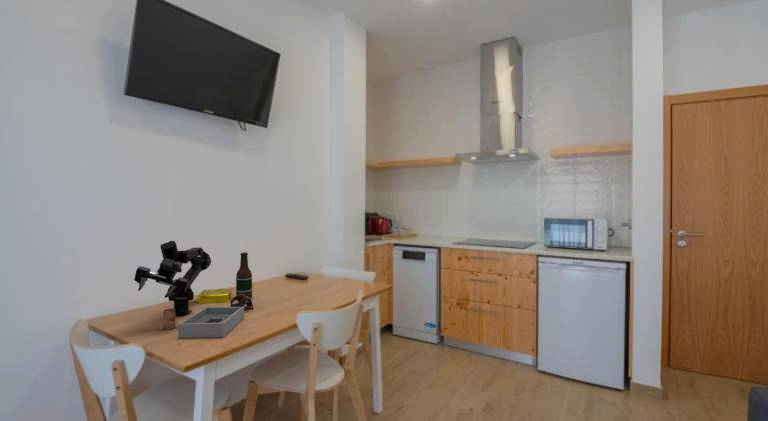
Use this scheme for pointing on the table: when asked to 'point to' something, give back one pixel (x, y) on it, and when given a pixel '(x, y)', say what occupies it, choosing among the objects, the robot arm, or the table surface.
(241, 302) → the dark brown openwork arch
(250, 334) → the table surface
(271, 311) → the table surface
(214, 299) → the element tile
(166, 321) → the peg
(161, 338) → the table surface
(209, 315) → the socket box
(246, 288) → the beer bottle
